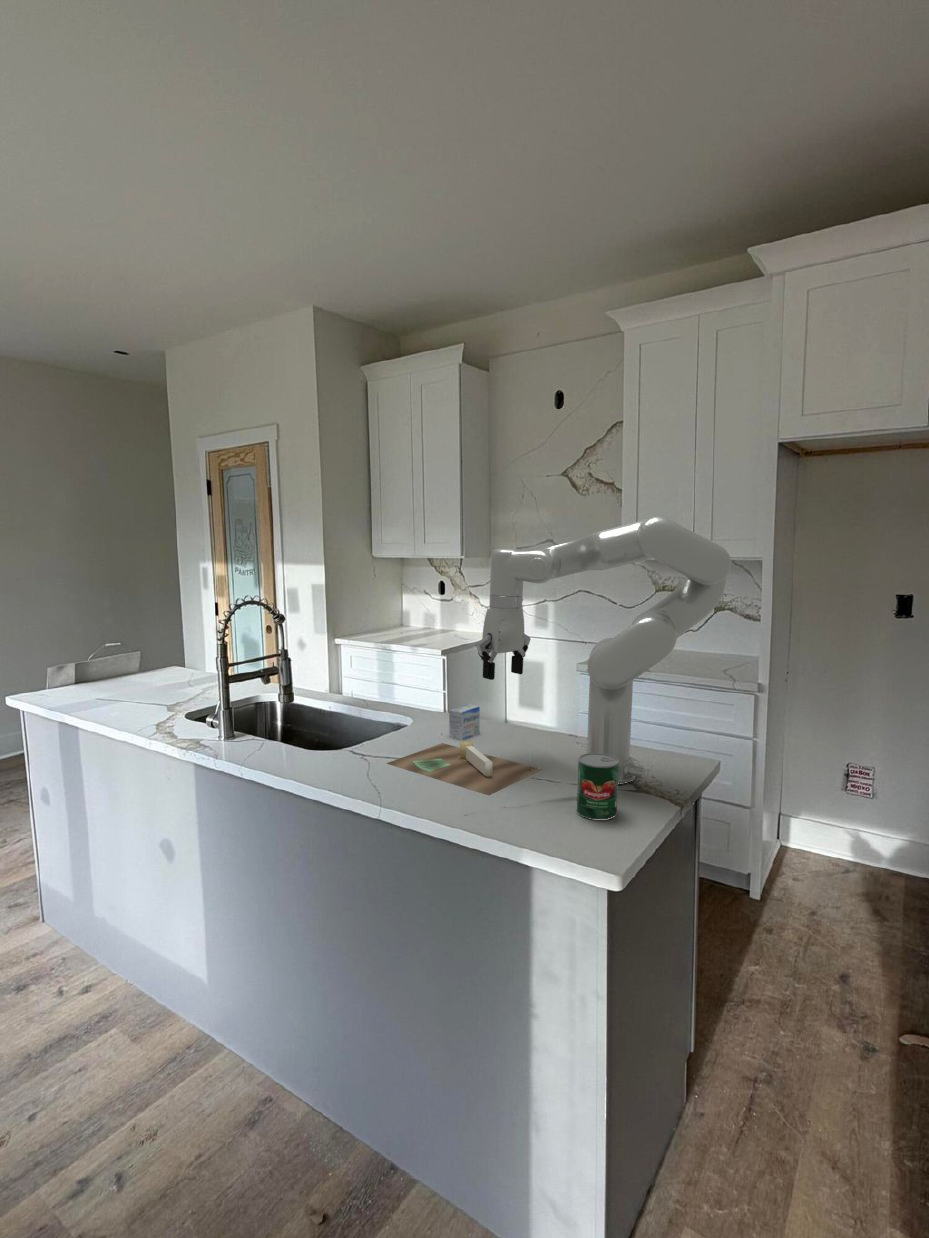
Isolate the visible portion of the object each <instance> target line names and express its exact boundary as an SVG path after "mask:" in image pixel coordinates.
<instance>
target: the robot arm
mask: <svg viewBox="0 0 929 1238" xmlns="http://www.w3.org/2000/svg"><path fill="white" fill-rule="evenodd" d="M490 558H491V560H490V582H489V583H490V584H489V585H490V586H489V608H486V612H485V616H484V621H483V629H482V638H481V639H480V640H479V641H478V642H477V643H476V644H475V646H476V650H477V652H478V653H477V654H478V656H479V657H480V660H481V662H482V678H483V679H487V680H489V681H490V680H491V681H493V680H495V675H496V674H495V673H496V671H495V669H496V663H495V661H494V660H495V659H496V657H497V655H498V654H506V653H510V652H512V654H513V655H511V661H510V663H511V665H510V671H511V672H510V673H512V674H517V675H523V673H524V658H525V657H526V653H527V651H528V649H529V645H530V642H531V637H530V636H529V635H528V634H526V633H525V616H524V610H523V601H524V598H523V593H524V591H523V590H524V582H525V583H527V582H528V583H532V584H545V583H547V582H549V581H550V580H554V579H558V578H562V577H566V576H569V575H574V574H578V573H583V572H587V571H588V572H590V571H603V570H609V569H614V568H617V567H622V566H626V565H630V564H634V563H638V562H642V561H646V560H651V559H654V560H656V561H657V562H659V563H661V564H663V565H664V566H665V567H668V568H670V569H672V570H674V572H675V571H676V572H677V573H679V574H681V575H683V576H685V579H684V580H683V582H682V583H681V584H680V585H679V586H678V587H677V588H676V589H675V590H673V591H672V592H671V593H669V594H668V595H666V597H664V598H662V600H660V601H659V602H658V603H656V604H654V605H653V606H651V607H650V608H649V609H647V610H645V611H643V612H642V613H640V614H639V615H637V616H636V617H635V618H634V619H633V621H632V622H631V624H630V625H629V626H628V627H627V628H625V629H624V630H622V631H621V632H620V633H618V634H617V635H616V636H614V637H607V638H604V639H601V640H600V641H598V642H597V643H596V644H595V645H594V646H593V648H592V650H591V652H590V653H589V657H588V661H587V674H588V677H589V686H588V692H589V693H588V712H587V715H588V716H587V743H586V744H587V745H586V754H588V753H602V754H608V755H612V756H614V757H616V758H617V759H618V760H619V771H618V783H619V784H620V783H625V782H629V781H631V780H634V779H635V778H638V779H644V778H645V776H646V768H645V766H641V765H636V764H635V757H631V755H630V754H631V732H632V731H631V729H632V713H633V712H632V711H633V687H634V685H633V684H634V680H636V679H637V678H638V677H640V676H642V675H643V674H644V673H646V672H647V671H649V670H650V669H652V668H653V667H654V666H656V665H657V664H659V663H660V662H662V661H663V660H664V659H666V657H668V656H669V655H670V654H671V652H672V651H673V650H674V648H675V646H676V644H677V639H678V638H679V637H681V636H682V635H684V634H685V633H686V632H688V631H689V630H690V629H692V628H693V627H694V626H696V625H697V624H699V623H700V622H701V621H703V620H704V619H705V618H706V617H707V616H708V615H710V614H711V613H712V611H714V609H715V608H716V607H717V605H718V604H719V603H720V601H721V600H722V599H721V598H722V596H723V594H724V591H725V588H726V584H727V577H728V576H729V574H730V572H731V569H732V559H731V556H730V554H729V552H728V551H727V549H725V548H724V547H723V546H722V545H721V544H718V543H717V542H714V541H712V540H710V539H708V538H707V537H704V536H702V535H700V534H698V533H696V532H695V531H692V530H691V529H688V528H687V527H685V526H683V525H682V524H679V523H677V522H676V521H675V520H673V519H671V518H668V517H667V516H660V515H657V516H654V517H650V518H646V519H641V520H638V521H634V522H630V523H627V524H623V525H622V524H621V525H618V526H615V527H612V528H608V529H603V530H600V531H595V532H593V533H590V534H589V535H587V536H584V537H582V538H579V539H575V540H572V541H568V542H564V543H561V544H556V545H552V546H549V547H543V548H539V549H535V550H521V549H517V548H496V549H493V551H492V552H491V557H490ZM635 780H636V779H635ZM635 780H634V781H635Z"/></svg>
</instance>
